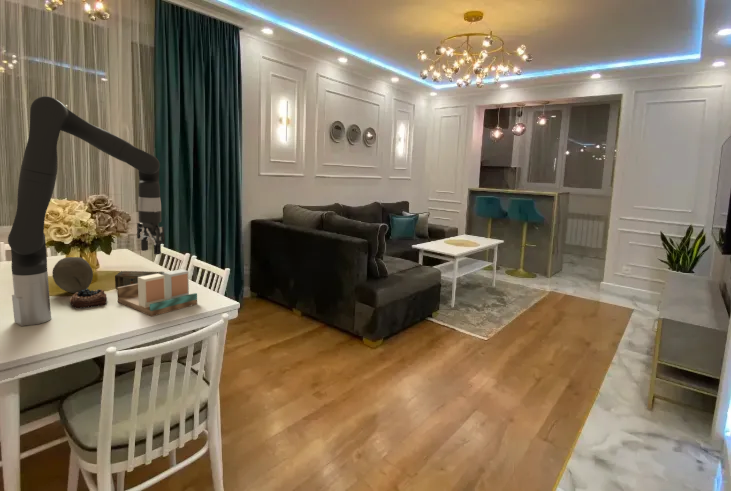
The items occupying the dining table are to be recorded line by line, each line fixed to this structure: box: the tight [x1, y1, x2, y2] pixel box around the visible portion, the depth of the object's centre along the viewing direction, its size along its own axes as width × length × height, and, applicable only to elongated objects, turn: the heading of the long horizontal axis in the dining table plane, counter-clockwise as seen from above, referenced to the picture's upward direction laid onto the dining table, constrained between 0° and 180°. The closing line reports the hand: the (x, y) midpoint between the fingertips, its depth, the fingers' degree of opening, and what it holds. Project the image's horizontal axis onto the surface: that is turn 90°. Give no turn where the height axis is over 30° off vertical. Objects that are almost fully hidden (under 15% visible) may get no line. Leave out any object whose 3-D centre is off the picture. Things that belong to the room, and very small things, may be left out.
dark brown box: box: [114, 270, 165, 289], centre depth 186 cm, size 8×19×7 cm, turn 103°
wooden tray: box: [116, 283, 198, 317], centre depth 166 cm, size 19×24×6 cm
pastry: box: [69, 288, 108, 310], centre depth 161 cm, size 11×12×6 cm
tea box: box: [138, 274, 165, 308], centre depth 158 cm, size 8×5×11 cm, turn 147°
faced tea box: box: [163, 268, 190, 300], centre depth 166 cm, size 8×5×11 cm, turn 147°
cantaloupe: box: [52, 256, 94, 294], centre depth 171 cm, size 14×14×15 cm
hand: (151, 252), depth 155 cm, fingers open, 8 cm apart
